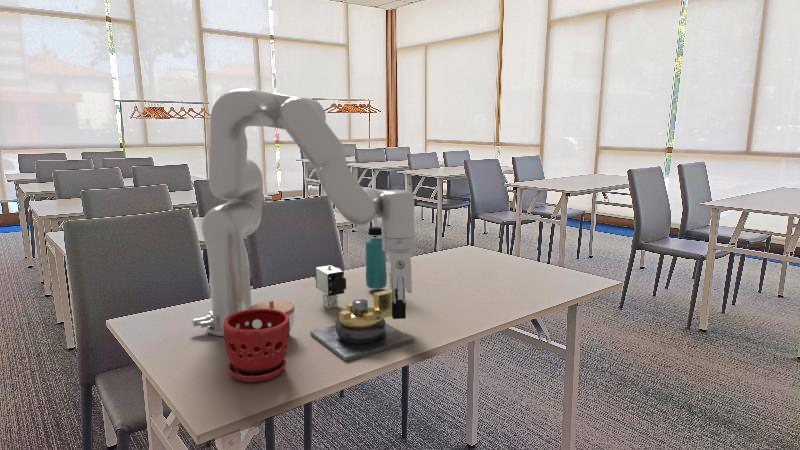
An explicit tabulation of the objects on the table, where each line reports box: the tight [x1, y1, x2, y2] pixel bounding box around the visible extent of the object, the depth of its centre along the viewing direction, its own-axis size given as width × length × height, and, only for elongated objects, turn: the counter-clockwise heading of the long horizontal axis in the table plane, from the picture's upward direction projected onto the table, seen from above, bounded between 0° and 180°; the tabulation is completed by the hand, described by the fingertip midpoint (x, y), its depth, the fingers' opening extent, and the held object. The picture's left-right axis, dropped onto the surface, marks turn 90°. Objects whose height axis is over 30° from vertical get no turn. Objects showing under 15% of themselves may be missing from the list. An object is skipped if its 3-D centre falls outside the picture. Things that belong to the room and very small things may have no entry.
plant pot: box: [223, 309, 291, 383], centre depth 107 cm, size 13×13×12 cm
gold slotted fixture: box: [338, 288, 393, 330], centre depth 126 cm, size 17×10×6 cm, turn 124°
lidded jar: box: [249, 299, 295, 332], centre depth 126 cm, size 11×11×9 cm
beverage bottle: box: [365, 226, 388, 290], centre depth 161 cm, size 6×7×20 cm
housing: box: [310, 318, 414, 362], centre depth 125 cm, size 18×18×4 cm
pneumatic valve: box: [314, 264, 347, 310], centre depth 147 cm, size 6×12×12 cm, turn 32°
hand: (398, 317), depth 125 cm, fingers closed
